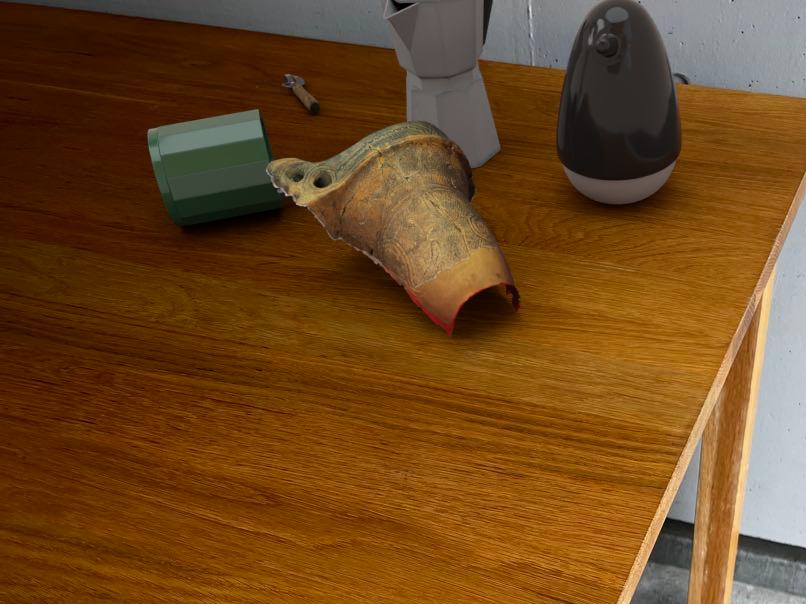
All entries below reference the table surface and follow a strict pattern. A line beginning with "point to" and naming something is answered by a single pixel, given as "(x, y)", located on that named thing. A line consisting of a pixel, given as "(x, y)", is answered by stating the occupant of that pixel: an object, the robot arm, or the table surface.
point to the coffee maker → (446, 69)
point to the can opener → (301, 92)
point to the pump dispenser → (618, 106)
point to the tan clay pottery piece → (405, 214)
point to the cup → (214, 167)
